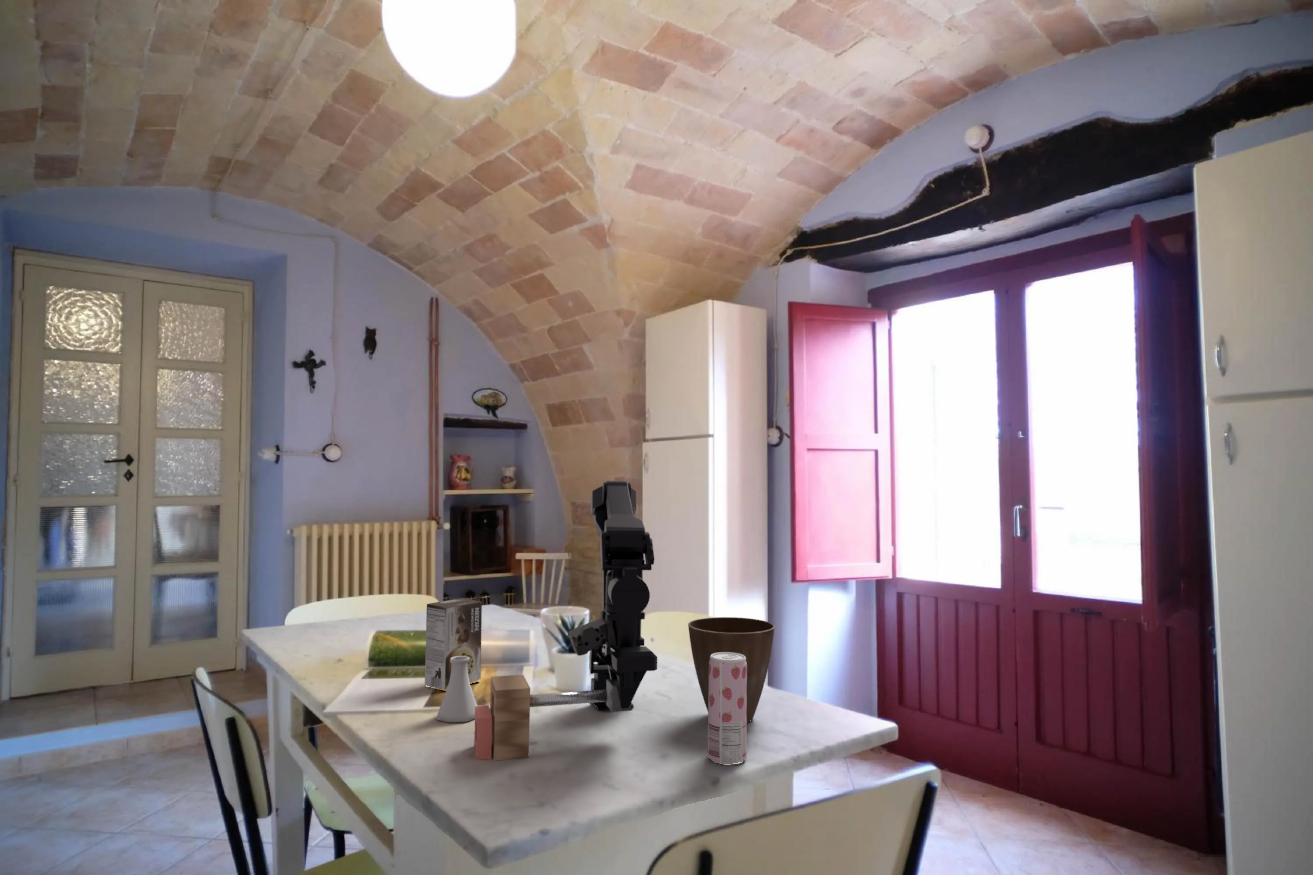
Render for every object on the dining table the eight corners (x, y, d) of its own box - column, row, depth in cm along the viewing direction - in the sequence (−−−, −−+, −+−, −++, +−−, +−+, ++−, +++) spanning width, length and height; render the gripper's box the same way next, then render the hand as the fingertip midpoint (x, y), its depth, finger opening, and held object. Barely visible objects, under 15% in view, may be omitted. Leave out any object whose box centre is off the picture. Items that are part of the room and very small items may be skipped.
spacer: (487, 744, 119) (488, 705, 119) (491, 758, 113) (492, 716, 114) (474, 745, 119) (475, 706, 119) (477, 759, 113) (478, 717, 113)
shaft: (624, 703, 125) (624, 677, 125) (630, 710, 121) (631, 684, 121) (501, 712, 119) (501, 685, 119) (503, 720, 115) (504, 692, 115)
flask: (468, 725, 128) (470, 664, 129) (428, 721, 130) (429, 661, 130) (486, 712, 135) (488, 654, 136) (448, 709, 137) (449, 651, 137)
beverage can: (748, 753, 117) (749, 652, 117) (743, 767, 111) (744, 661, 112) (710, 750, 118) (711, 650, 119) (704, 763, 112) (705, 658, 113)
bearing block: (521, 739, 122) (523, 674, 122) (528, 757, 114) (530, 688, 115) (489, 741, 120) (490, 676, 121) (494, 760, 113) (495, 690, 113)
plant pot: (675, 725, 130) (676, 628, 131) (701, 701, 144) (702, 613, 144) (763, 736, 125) (764, 635, 125) (781, 710, 139) (782, 620, 139)
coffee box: (460, 677, 158) (462, 597, 159) (481, 682, 154) (483, 600, 155) (422, 686, 151) (425, 602, 151) (444, 692, 147) (447, 606, 148)
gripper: (563, 596, 130) (560, 691, 129) (585, 616, 112) (582, 726, 111) (627, 594, 133) (625, 687, 132) (659, 613, 115) (657, 720, 114)
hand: (621, 704), depth 123 cm, fingers closed on shaft, 4 cm apart
